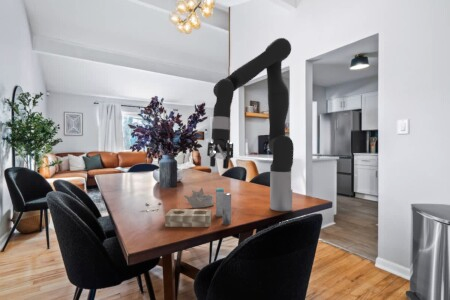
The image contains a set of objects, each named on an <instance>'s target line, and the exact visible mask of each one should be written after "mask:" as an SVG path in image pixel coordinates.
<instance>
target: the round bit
mask: <svg viewBox="0 0 450 300" xmlns="http://www.w3.org/2000/svg"><path fill="white" fill-rule="evenodd" d="M222 225H224V226H225V225H228V226H229V225H232V193H230V192H224V193H223V216H222Z"/></svg>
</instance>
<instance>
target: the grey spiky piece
mask: <svg viewBox="0 0 450 300" xmlns="http://www.w3.org/2000/svg"><path fill="white" fill-rule="evenodd" d="M183 197H184V198H185V199H186V201H188V203H189V206H190V207H192V208H193V209H200V208H201V209H202V208H208V207H212V206H213V205H214V204H215V200H214V197H213V194H212V193H211V194H205V193H204V190H203V187H201V189H200V190H199V191H196V190H195V189H193V190H192V194H191V196H188V195H187V194H186V193H185V194H183Z"/></svg>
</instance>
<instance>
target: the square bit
mask: <svg viewBox="0 0 450 300" xmlns="http://www.w3.org/2000/svg"><path fill="white" fill-rule="evenodd" d="M223 193H225V187H216V188H215V217H223Z"/></svg>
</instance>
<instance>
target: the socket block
mask: <svg viewBox="0 0 450 300" xmlns="http://www.w3.org/2000/svg"><path fill="white" fill-rule="evenodd" d="M212 213H213V212H212V209H206V208H205V209H202V208H201V209H200V208H193V209H188V208H186V209H182V208H177V209H176V208H175V209H174V208H173V209H170V210H169V211H168V212H167V213H166V214H165V215H164V222H165V223H164V227H169V228H170V227H171V228H174V227H175V228H176V227H177V228H178V227H180V228H187V227H188V228H192V227H193V228H200V227H201V228H206V227H207V228H210V227H211V224H212V220H213V218H212V215H213V214H212Z"/></svg>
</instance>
